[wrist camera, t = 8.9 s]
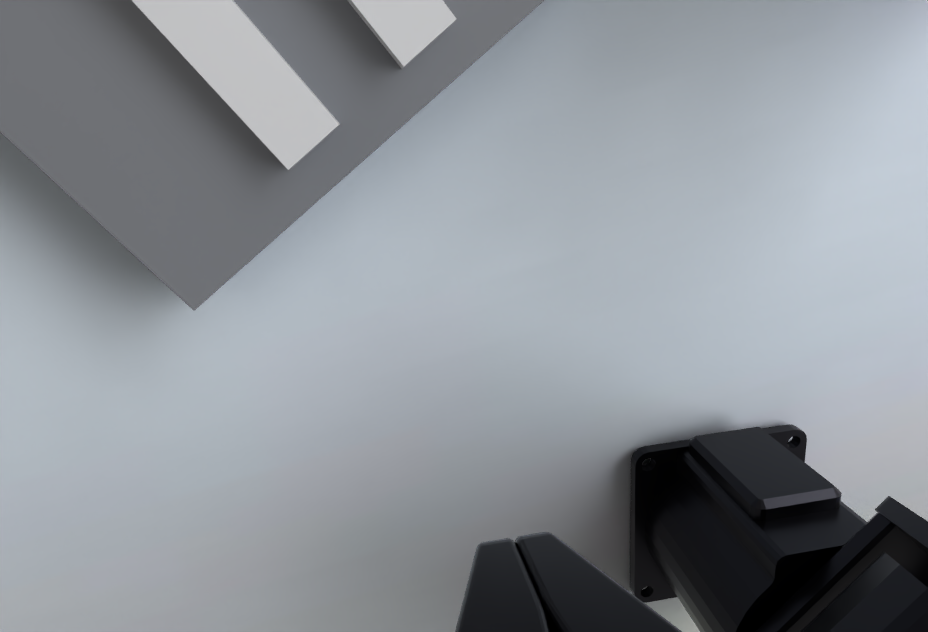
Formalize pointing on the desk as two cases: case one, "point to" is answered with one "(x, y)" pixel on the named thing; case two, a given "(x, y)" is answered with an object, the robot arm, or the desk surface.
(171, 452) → the desk surface
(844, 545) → the robot arm
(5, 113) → the fader console
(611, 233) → the desk surface
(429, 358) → the desk surface
